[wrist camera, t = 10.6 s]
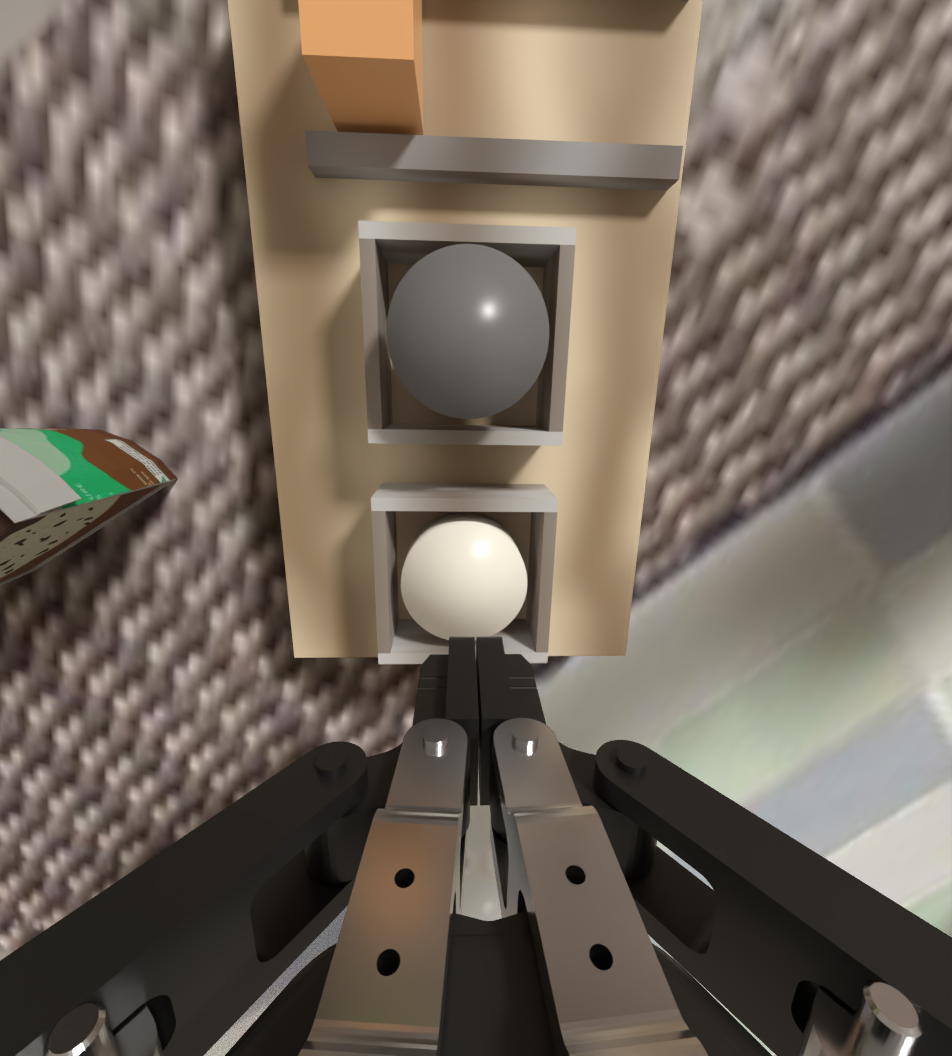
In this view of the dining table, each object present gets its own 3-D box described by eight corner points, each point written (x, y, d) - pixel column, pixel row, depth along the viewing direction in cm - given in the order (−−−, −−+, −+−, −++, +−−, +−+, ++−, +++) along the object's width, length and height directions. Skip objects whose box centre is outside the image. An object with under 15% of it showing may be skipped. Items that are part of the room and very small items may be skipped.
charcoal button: (543, 262, 16) (554, 246, 14) (535, 417, 17) (544, 420, 15) (391, 257, 15) (383, 241, 14) (395, 414, 17) (389, 417, 15)
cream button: (524, 512, 20) (530, 524, 18) (518, 621, 21) (524, 641, 20) (403, 512, 20) (398, 523, 18) (406, 621, 21) (402, 642, 19)
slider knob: (421, -10, 16) (410, -139, 12) (423, 135, 17) (413, 59, 13) (329, -15, 16) (288, -148, 12) (337, 131, 17) (301, 54, 13)
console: (663, -6, 19) (774, -216, 13) (601, 618, 27) (648, 692, 20) (263, -28, 19) (155, -263, 12) (317, 618, 26) (270, 696, 20)
